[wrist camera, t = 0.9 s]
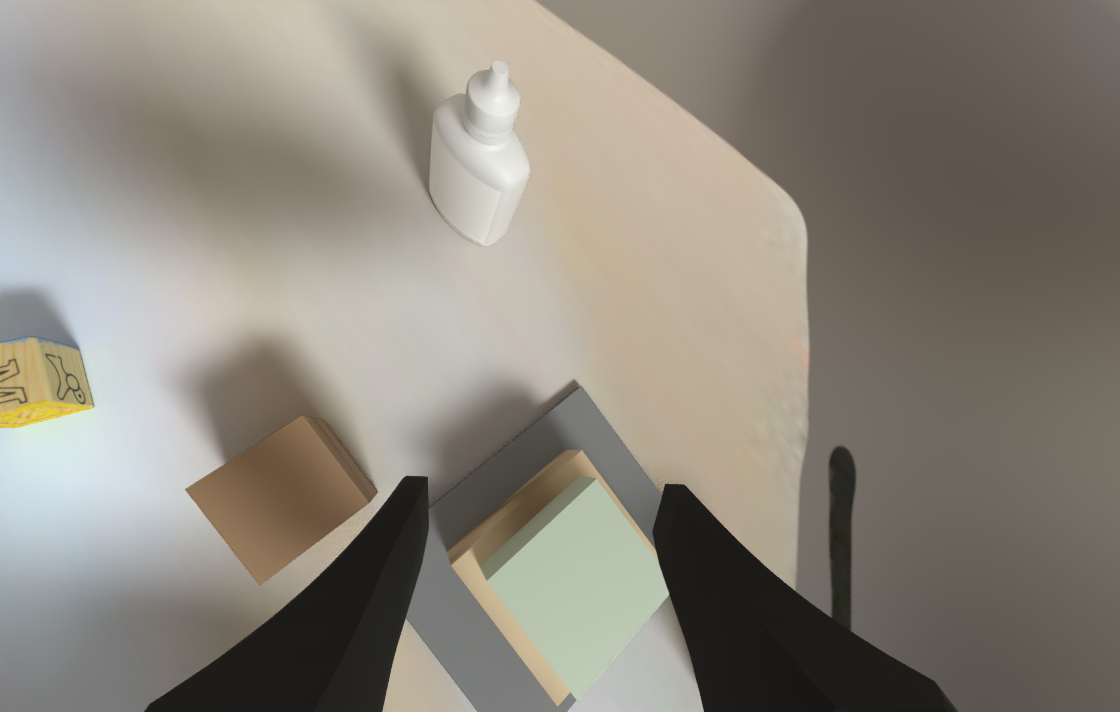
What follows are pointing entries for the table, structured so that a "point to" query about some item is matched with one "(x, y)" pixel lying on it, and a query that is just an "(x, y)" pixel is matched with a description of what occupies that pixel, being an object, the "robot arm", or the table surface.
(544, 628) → the tower top
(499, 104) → the eye dropper bottle
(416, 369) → the table surface
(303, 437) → the walnut cube
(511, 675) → the mat
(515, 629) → the tower base
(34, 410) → the alphabet block
